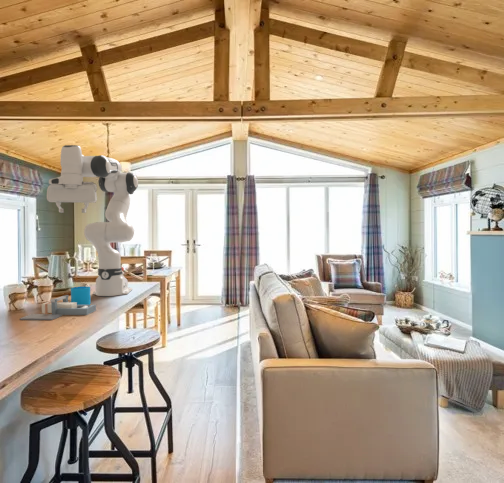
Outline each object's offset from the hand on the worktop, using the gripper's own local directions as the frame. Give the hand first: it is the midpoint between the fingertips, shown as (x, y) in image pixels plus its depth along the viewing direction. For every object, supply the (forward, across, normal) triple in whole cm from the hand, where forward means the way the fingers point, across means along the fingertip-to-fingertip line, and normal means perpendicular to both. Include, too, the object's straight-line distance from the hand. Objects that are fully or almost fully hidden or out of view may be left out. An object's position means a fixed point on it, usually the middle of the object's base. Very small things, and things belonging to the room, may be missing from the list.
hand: (72, 212), depth 158 cm
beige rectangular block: (+43, +4, +8) cm, 44 cm away
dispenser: (+43, -3, +9) cm, 44 cm away
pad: (+43, +8, +16) cm, 46 cm away
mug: (+43, -1, -8) cm, 44 cm away
